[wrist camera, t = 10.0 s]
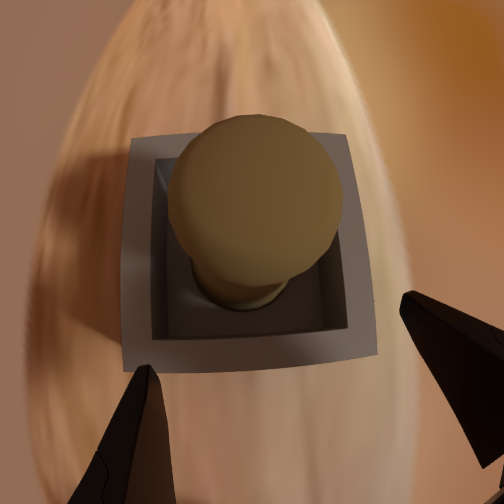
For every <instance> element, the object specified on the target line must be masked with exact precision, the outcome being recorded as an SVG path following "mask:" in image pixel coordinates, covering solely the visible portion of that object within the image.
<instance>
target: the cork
mask: <svg viewBox="0 0 504 504" xmlns="http://www.w3.org/2000/svg"><path fill="white" fill-rule="evenodd" d="M167 196H168V215H169V220H170V223H171V225H172V227H173V230H174V232H175V235H176V237H177V239H178V242H179V244H180V245H181V247H182V248H183V249H184V250H185V252H186V253H187V254H188V255H189V256H190V257H191V267H192V275H193V277H194V280H195V282H196V284H197V286H198V288H199V290H200V291H201V292H202V293H203V294H204V295H205V297H206V298H207V299H208V300H209V301H210V302H212V303H214V304H216V305H217V306H219V307H221V308H223V309H225V310H230V311H236V312H248V311H255V310H259V309H261V308H263V307H265V306H267V305H269V304H271V303H273V302H274V301H275V300H276V299H277V298H278V297H279V296H280V295H281V294H282V293H283V292H284V290H285V288H286V286H287V284H288V282H289V280H290V278H292V277H294V276H296V275H298V274H300V273H302V272H304V271H306V270H308V269H309V268H310V267H311V266H312V265H313V264H314V263H315V262H316V261H317V260H318V259H319V258H320V257H321V256H322V255H323V254H324V253H325V252H326V251H327V250H328V249H329V247H330V245H331V243H332V240H333V238H334V236H335V234H336V231H337V229H338V227H339V224H340V221H341V218H342V205H343V190H342V186H341V182H340V178H339V175H338V171H337V168H336V166H335V165H334V163H333V161H332V160H331V158H330V157H329V155H328V154H327V152H326V150H325V149H324V147H323V146H322V144H321V143H320V142H318V141H317V140H316V139H315V138H314V137H313V136H312V135H310V134H309V133H308V132H307V131H306V130H305V129H303V128H301V127H299V126H297V125H295V124H293V123H291V122H289V121H287V120H284V119H281V118H277V117H271V116H266V115H261V114H257V115H241V116H235V117H232V118H229V119H226V120H223V121H220V122H217V123H215V124H213V125H212V126H210V127H209V128H207V129H206V130H205V131H203V132H202V133H200V134H199V135H198V136H196V137H195V138H194V139H192V140H191V141H190V142H189V143H188V145H187V146H186V148H185V149H184V150H183V152H182V153H181V154H180V156H179V157H178V158H177V160H176V162H175V165H174V168H173V171H172V174H171V178H170V181H169V184H168V191H167Z"/></svg>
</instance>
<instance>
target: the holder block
mask: <svg viewBox="0 0 504 504" xmlns="http://www.w3.org/2000/svg"><path fill="white" fill-rule="evenodd" d="M308 133H309V134H310V135H312V136H313V137H314V138H315V139H316V140H317V141H318V142H320V143H321V144H322V146H323V147H324V149H325V150H326V152H327V154H328V155H329V157H330V158H331V160H332V161H333V163H334V165H335V166H336V168H337V171H338V175H339V178H340V182H341V186H342V190H343V205H342V218H341V221H340V224H339V227H338V229H337V231H336V234H335V236H334V238H333V240H332V243H331V245H330V247H329V249H328V250H327V251H326V252H325V253H324V254H323V255H322V256H321V257H320V258H319V259H318V260H317V261H316V262H315V263H314V264H313V265H312V266H311V267H310V268H309V269H308V270H306V271H304V272H302V273H300V274H298V275H296V276H294V277H292V278H290V280H289V282H288V284H287V286H286V288H285V290H284V292H283V293H282V294H281V295H280V296H279V297H278V298H277V299H276V300H275V301H274V302H273V303H271V304H269V305H267V306H265V307H263V308H261V309H259V310H255V311H248V312H236V311H230V310H225V309H223V308H221V307H219V306H217V305H216V304H214V303H212V302H210V301H209V300H208V299H207V298H206V297H205V295H204V294H203V293H202V292H201V291H200V290H199V288H198V286H197V284H196V282H195V280H194V277H193V275H192V267H191V257H190V256H189V255H188V254H187V253H186V252H185V250H184V249H183V248H182V247H181V245H180V244H179V242H178V239H177V237H176V235H175V232H174V230H173V227H172V225H171V223H170V220H169V215H168V196H167V191H168V184H169V181H170V178H171V174H172V171H173V168H174V165H175V162H176V160H177V158H178V157H179V156H180V154H181V153H182V152H183V150H184V149H185V148H186V146H187V145H188V143H189V142H190V141H191V140H192V139H194V138H195V137H196V136H198V135H199V134H200V133H186V134H173V135H161V136H150V137H141V138H132V139H131V145H130V152H129V160H128V168H127V176H126V186H125V196H124V207H123V220H122V237H121V263H120V315H121V341H122V357H123V370H124V372H135V371H136V369H137V367H138V366H140V365H146V364H150V365H151V366H152V368H153V369H154V371H155V373H213V372H236V371H252V370H266V369H277V368H288V367H297V366H306V365H314V364H322V363H329V362H336V361H343V360H349V359H356V358H361V357H367V356H373V355H377V336H376V321H375V308H374V297H373V287H372V278H371V270H370V262H369V254H368V247H367V240H366V233H365V227H364V221H363V215H362V209H361V203H360V198H359V193H358V187H357V182H356V178H355V173H354V168H353V163H352V159H351V154H350V150H349V146H348V142H347V137H346V135H344V134H330V133H314V132H308Z"/></svg>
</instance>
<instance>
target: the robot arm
mask: <svg viewBox="0 0 504 504" xmlns="http://www.w3.org/2000/svg"><path fill="white" fill-rule="evenodd" d="M399 312H400V316H401V318H402V320H403V322H404V324H405V326H406V328H407V330H408V332H409V334H410V336H411V338H412V340H413V342H414V344H415V346H416V348H417V350H418V351H419V353H420V355H421V356H422V358H423V359H424V361H425V363H426V364H427V366H428V368H429V369H430V371H431V373H432V375H433V376H434V378H435V380H436V381H437V383H438V385H439V387H440V388H441V390H442V392H443V394H444V395H445V397H446V399H447V401H448V402H449V404H450V406H451V408H452V410H453V411H454V413H455V415H456V417H457V419H458V421H459V423H460V425H461V427H462V429H463V431H464V433H465V435H466V437H467V439H468V440H469V443H470V445H471V446H472V449H473V451H474V453H475V455H476V457H477V459H478V461H479V463H480V465H481V467H482V469H484V468H485V467H487V466H488V465H490V464H491V463H492V462H494V461H495V460H497V459H498V458H499V457H501V456H502V455H503V454H504V331H503V330H501V329H498V328H496V327H494V326H492V325H489V324H488V323H485V322H483V321H481V320H479V319H477V318H475V317H472V316H470V315H468V314H466V313H464V312H461V311H459V310H457V309H455V308H453V307H450V306H448V305H446V304H443V303H441V302H439V301H437V300H435V299H432V298H430V297H428V296H425V295H423V294H421V293H419V292H417V291H414V290H411V291H408V292H406V293H404V294H403V296H402V300H401V304H400V309H399ZM97 450H98V451H96V452H95V454H94V456H93V458H92V461H91V463H90V465H89V467H88V469H87V471H86V472H85V474H84V476H83V478H82V480H81V481H80V483H79V485H78V486H77V488H76V490H75V491H74V493H73V495H72V496H71V498H70V500H69V501H68V503H67V504H176V498H175V491H174V483H173V474H172V465H171V455H170V444H169V431H168V422H167V416H166V411H165V406H164V400H163V394H162V388H161V383H160V380H159V378H158V376H157V374H156V373H155V371H154V369H153V368H152V366H151V365H150V364H146V365H140V366H138V367H137V369H136V371H135V373H134V375H133V377H132V379H131V381H130V382H129V384H128V386H127V388H126V390H125V392H124V394H123V396H122V398H121V400H120V402H119V404H118V406H117V408H116V410H115V412H114V414H113V417H112V419H111V421H110V423H109V425H108V427H107V429H106V431H105V433H104V435H103V437H102V439H101V442H100V444H99V446H98V448H97ZM499 487H500V490H499V491H498V492H497V493H496V494H495V495H494V496H492V497H491V498H490V499H489V500H488V501H487V502H485V503H484V504H504V466H503V471H502V476H501V481H500V486H499Z"/></svg>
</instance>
